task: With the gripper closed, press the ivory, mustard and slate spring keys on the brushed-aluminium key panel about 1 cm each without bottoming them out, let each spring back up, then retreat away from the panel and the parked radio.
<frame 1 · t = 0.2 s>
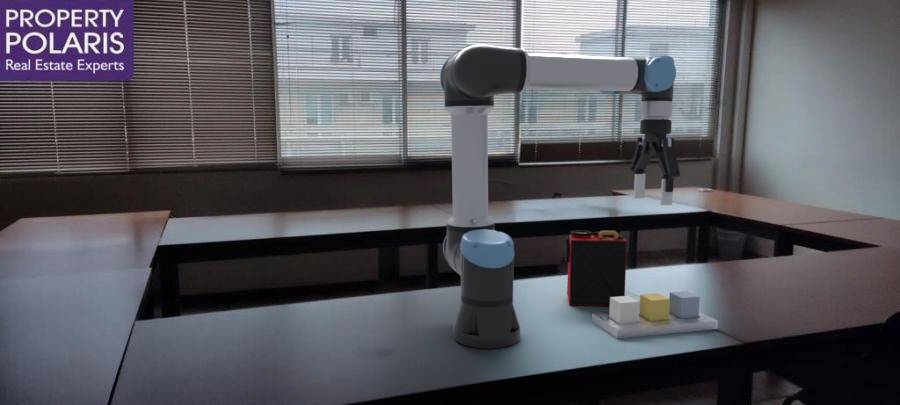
hand: (652, 201, 155), 28 cm above the table, fingers open, 13 cm apart
key panel: (653, 325, 142), on the table
mustard key: (654, 307, 142), point 4 cm above the table, slide at 0.1 cm
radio: (592, 301, 161), on the table
ivory key: (624, 309, 140), point 4 cm above the table, slide at 0.1 cm
slate key: (684, 304, 144), point 4 cm above the table, slide at 0.1 cm
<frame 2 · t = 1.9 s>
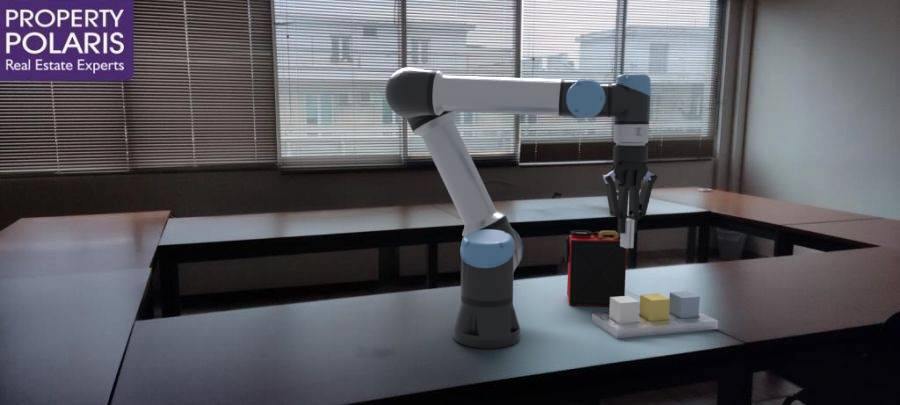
hand: (626, 246, 138), 19 cm above the table, fingers closed
nothing on the table moved.
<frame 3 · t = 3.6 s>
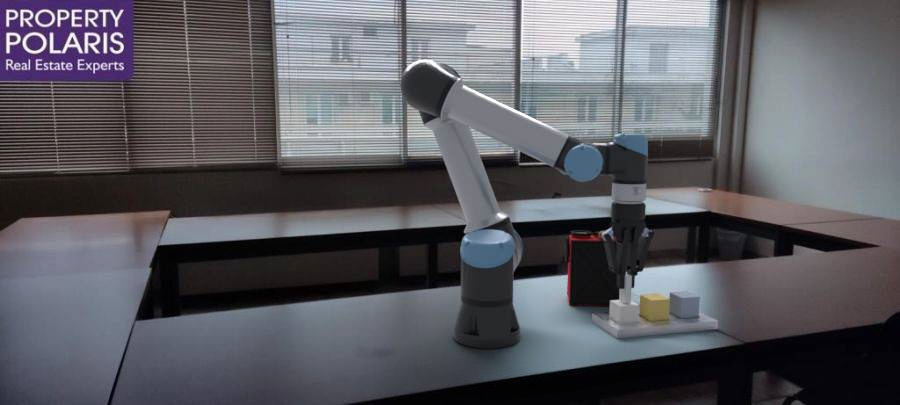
hand: (624, 301, 140), 6 cm above the table, fingers closed
ivory key: (623, 313, 140), point 4 cm above the table, slide at 0.9 cm, touching gripper
everything else where it was.
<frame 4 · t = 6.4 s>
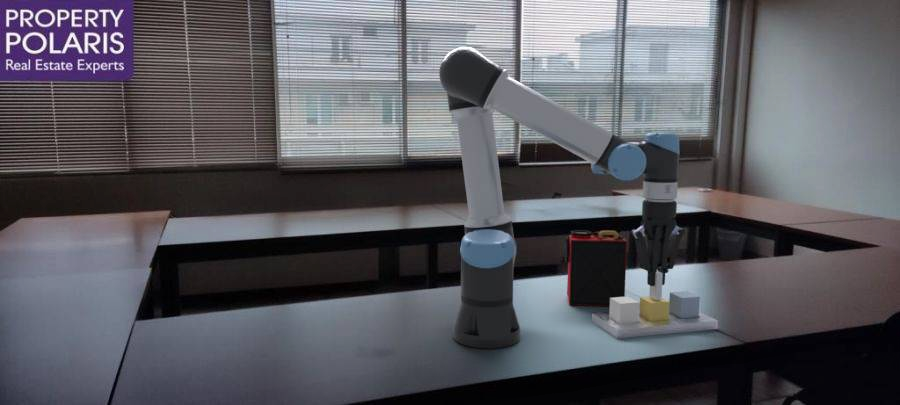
hand: (655, 298, 142), 7 cm above the table, fingers closed
mustard key: (654, 309, 142), point 4 cm above the table, slide at 0.7 cm, touching gripper
ivory key: (624, 310, 140), point 4 cm above the table, slide at 0.3 cm
everything else where it was.
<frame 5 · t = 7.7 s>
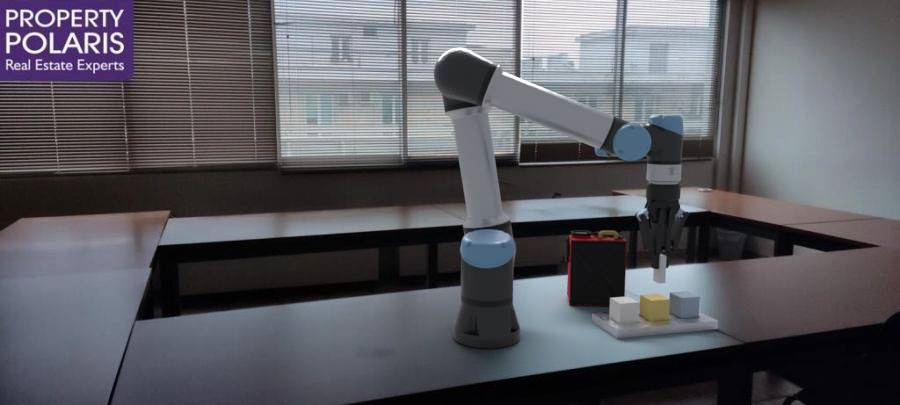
hand: (659, 281, 141), 11 cm above the table, fingers closed
mustard key: (654, 307, 142), point 4 cm above the table, slide at 0.1 cm
everything else where it was.
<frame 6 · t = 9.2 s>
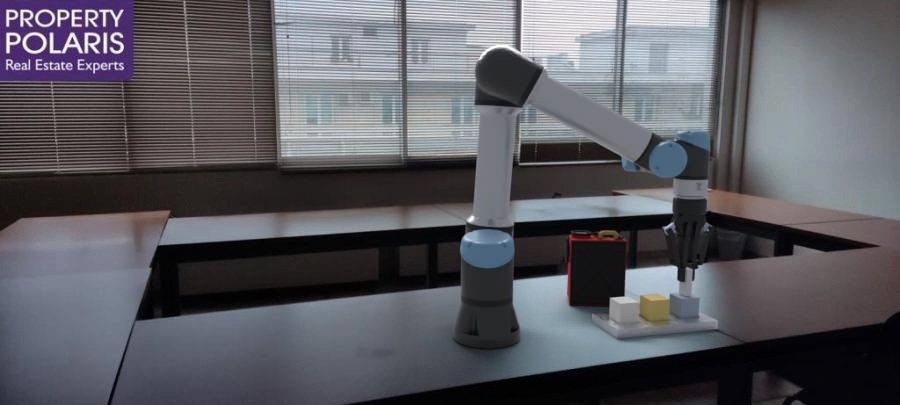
hand: (685, 294, 143), 7 cm above the table, fingers closed
slate key: (683, 305, 144), point 4 cm above the table, slide at 0.3 cm, touching gripper
everything else where it was.
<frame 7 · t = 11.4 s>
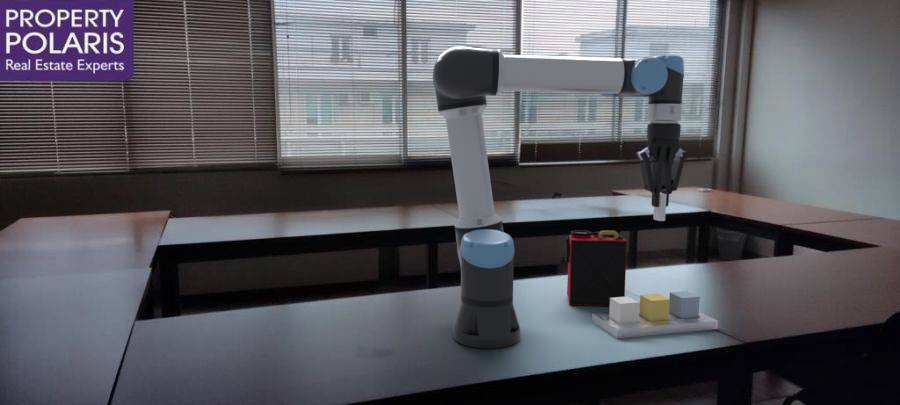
hand: (659, 219, 146), 24 cm above the table, fingers closed
slate key: (684, 304, 144), point 4 cm above the table, slide at 0.1 cm
everything else where it was.
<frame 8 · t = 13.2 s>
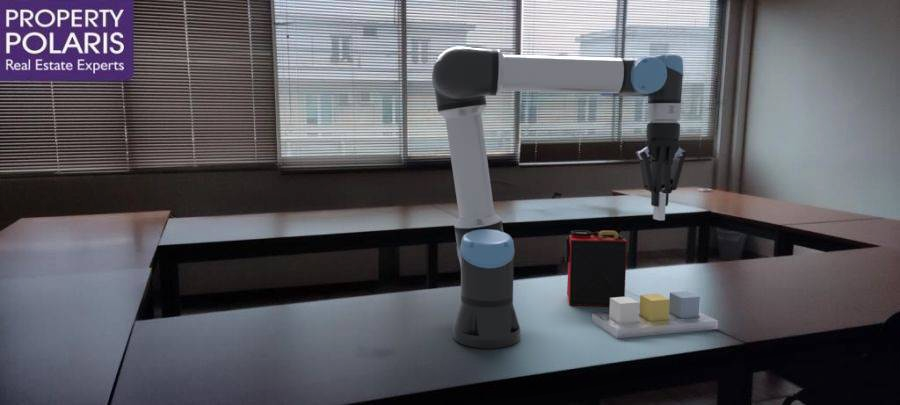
hand: (658, 219, 146), 24 cm above the table, fingers closed
nothing on the table moved.
at the end: ivory key slide at 0.3 cm; mustard key slide at 0.1 cm; slate key slide at 0.1 cm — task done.
